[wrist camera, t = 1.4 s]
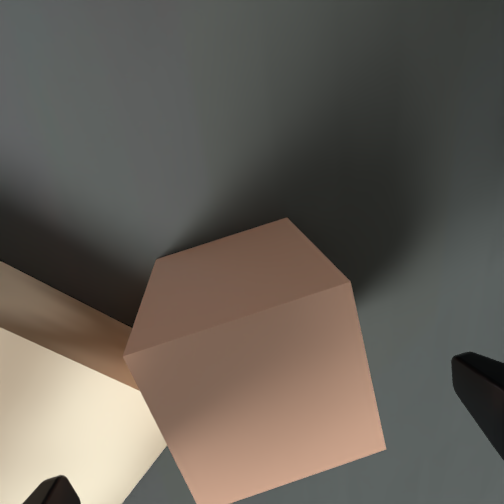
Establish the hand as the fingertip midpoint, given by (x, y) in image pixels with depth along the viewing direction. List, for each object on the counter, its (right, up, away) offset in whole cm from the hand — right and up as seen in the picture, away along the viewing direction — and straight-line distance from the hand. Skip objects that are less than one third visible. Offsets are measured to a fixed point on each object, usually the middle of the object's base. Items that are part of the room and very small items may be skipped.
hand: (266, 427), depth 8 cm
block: (-1, +2, +6) cm, 6 cm away
